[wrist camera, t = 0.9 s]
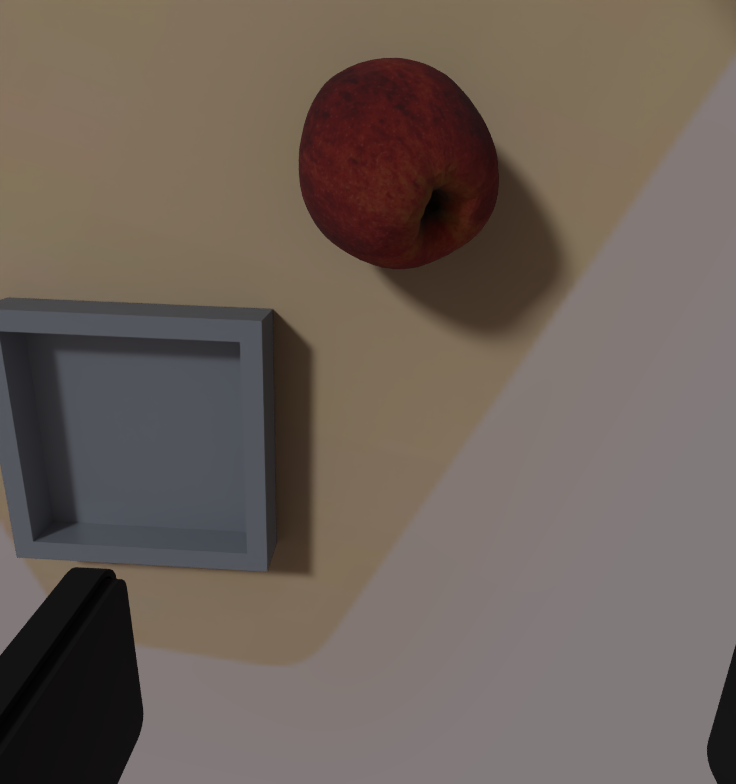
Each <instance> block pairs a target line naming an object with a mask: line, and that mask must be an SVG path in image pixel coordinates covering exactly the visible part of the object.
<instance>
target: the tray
mask: <svg viewBox="0 0 736 784" xmlns="http://www.w3.org/2000/svg"><path fill="white" fill-rule="evenodd" d="M0 464H1V470H2V476H3V481H4V487H5V493H6V498H7V504H8V510H9V516H10V521H11V527H12V533H13V538H14V544H15V550H16V555H17V558H35V559H52V560H70V561H87V562H105V563H123V564H140V565H158V566H175V567H193V568H211V569H228V570H246V571H263V572H267V571H268V568H269V565H270V562H271V559H272V556H273V553H274V550H275V547H276V544H277V533H276V473H275V413H274V353H273V309H260V308H236V307H213V306H190V305H166V304H143V303H120V302H96V301H73V300H50V299H26V298H5V299H2V300H0Z"/></svg>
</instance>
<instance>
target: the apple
mask: <svg viewBox="0 0 736 784" xmlns="http://www.w3.org/2000/svg"><path fill="white" fill-rule="evenodd" d="M299 178H300V187H301V192H302V196H303V199H304V202H305V204H306V207H307V209H308V211H309V213H310V215H311V217H312V219H313V221H314V222H315V224H316V225H317V227H318V228H319V229H320V231H321V232H322V233H323V234H324V235H325V236H326V237H327V238H328V239H329V240H330V241H331V242H332V243H334V244H335V245H336V246H338V247H339V248H340V249H342V250H344V251H345V252H347V253H348V254H350V255H352V256H354V257H356V258H358V259H360V260H362V261H365V262H367V263H370V264H373V265H376V266H380V267H384V268H391V269H408V268H415V267H419V266H422V265H425V264H428V263H431V262H433V261H435V260H437V259H440V258H442V257H444V256H446V255H448V254H450V253H451V252H453V251H454V250H456V249H458V248H460V247H461V246H463V245H464V244H466V243H467V242H469V241H470V240H471V239H472V238H474V237H475V236H476V235H477V234H478V233H479V232H480V231H481V229H482V228H483V227H484V225H485V224H486V222H487V221H488V219H489V218H490V216H491V214H492V212H493V209H494V207H495V203H496V199H497V195H498V184H499V173H498V161H497V154H496V149H495V146H494V143H493V140H492V137H491V134H490V132H489V130H488V128H487V126H486V124H485V122H484V120H483V118H482V117H481V115H480V114H479V112H478V111H477V109H476V108H475V106H474V105H473V103H472V102H471V100H470V99H469V98H468V97H467V95H466V94H465V93H464V92H463V91H462V90H461V89H460V87H459V86H458V85H457V84H456V83H455V82H454V81H453V80H452V79H450V78H449V77H448V76H447V75H445V74H444V73H442V72H440V71H438V70H436V69H435V68H433V67H431V66H429V65H426V64H424V63H420V62H417V61H413V60H408V59H403V58H382V59H374V60H370V61H365V62H362V63H358V64H356V65H354V66H351V67H349V68H347V69H345V70H343V71H342V72H340V73H338V74H336V75H335V76H333V77H332V78H331V79H330V80H329V81H328V82H326V83H325V84H324V86H323V87H322V88H321V90H320V91H319V92H318V94H317V96H316V97H315V99H314V101H313V103H312V105H311V107H310V109H309V112H308V114H307V117H306V120H305V124H304V128H303V132H302V137H301V143H300V148H299Z"/></svg>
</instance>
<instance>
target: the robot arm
mask: <svg viewBox="0 0 736 784" xmlns="http://www.w3.org/2000/svg"><path fill="white" fill-rule="evenodd" d="M142 722H143V705H142V698H141V690H140V682H139V675H138V667H137V660H136V652H135V645H134V637H133V630H132V622H131V615H130V607H129V600H128V592H127V586H126V583H125V581H124V580H122V579H116V575H115V573H114V571H113V570H111V569H99V568H79V567H75V568H72V569H71V570H70V571H68V572H67V573H66V575H65V576H64V577H63V578H62V580H61V581H60V582H59V583H58V585H57V586H56V587H55V588H54V590H53V591H52V592H51V593H50V595H49V596H48V597H47V598H46V600H45V601H44V602H43V603H42V605H41V606H40V607H39V608H38V610H37V611H36V612H35V613H34V615H33V616H32V617H31V618H30V619H29V621H28V622H27V623H26V624H25V626H24V627H23V628H22V629H21V630H20V632H19V633H18V634H17V635H16V637H15V638H14V639H13V641H12V642H11V643H10V644H9V645H8V647H7V648H6V649H5V650H4V652H3V653H2V654H1V655H0V784H118V782H119V779H120V777H121V775H122V773H123V770H124V769H125V766H126V764H127V762H128V760H129V757H130V755H131V753H132V751H133V748H134V746H135V744H136V742H137V740H138V737H139V735H140V731H141V727H142ZM707 756H708V762H709V766H710V769H711V771H712V773H713V775H714V778H715V779H716V781H717V784H736V646H735V649H734V653H733V656H732V660H731V664H730V667H729V670H728V674H727V678H726V681H725V684H724V688H723V691H722V695H721V699H720V702H719V705H718V709H717V712H716V716H715V720H714V723H713V726H712V730H711V733H710V737H709V741H708V745H707Z"/></svg>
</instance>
